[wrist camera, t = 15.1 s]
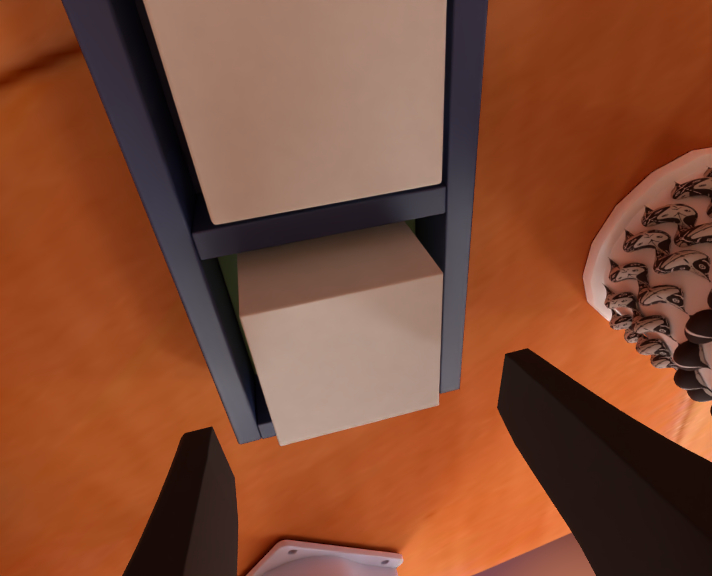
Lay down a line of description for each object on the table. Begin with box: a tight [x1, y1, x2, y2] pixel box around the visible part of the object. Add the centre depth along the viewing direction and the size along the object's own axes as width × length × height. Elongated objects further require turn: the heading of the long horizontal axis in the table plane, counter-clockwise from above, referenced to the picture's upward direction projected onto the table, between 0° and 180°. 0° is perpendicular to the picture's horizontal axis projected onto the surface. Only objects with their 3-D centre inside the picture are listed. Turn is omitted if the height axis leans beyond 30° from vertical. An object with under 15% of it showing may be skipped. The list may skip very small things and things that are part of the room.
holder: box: [61, 0, 488, 444], centre depth 13 cm, size 8×15×3 cm, turn 5°
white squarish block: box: [237, 221, 443, 446], centre depth 14 cm, size 5×5×4 cm
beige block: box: [143, 0, 447, 225], centre depth 10 cm, size 5×5×4 cm
